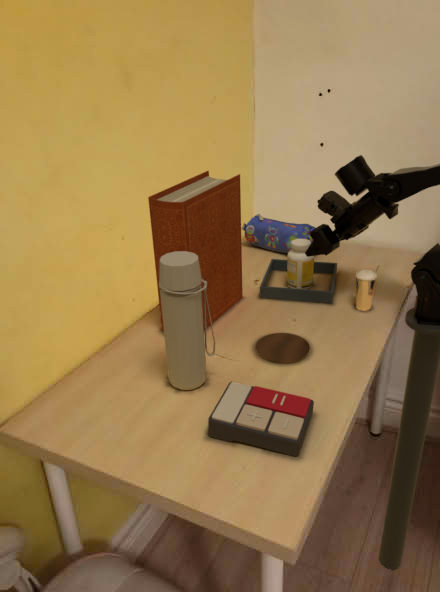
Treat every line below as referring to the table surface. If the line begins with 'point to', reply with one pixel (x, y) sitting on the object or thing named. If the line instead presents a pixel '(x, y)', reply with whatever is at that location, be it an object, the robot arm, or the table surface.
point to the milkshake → (365, 288)
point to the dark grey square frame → (298, 293)
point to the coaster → (282, 348)
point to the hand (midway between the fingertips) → (316, 248)
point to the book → (202, 235)
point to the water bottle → (184, 319)
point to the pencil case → (275, 233)
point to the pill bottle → (300, 265)
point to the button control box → (261, 418)
